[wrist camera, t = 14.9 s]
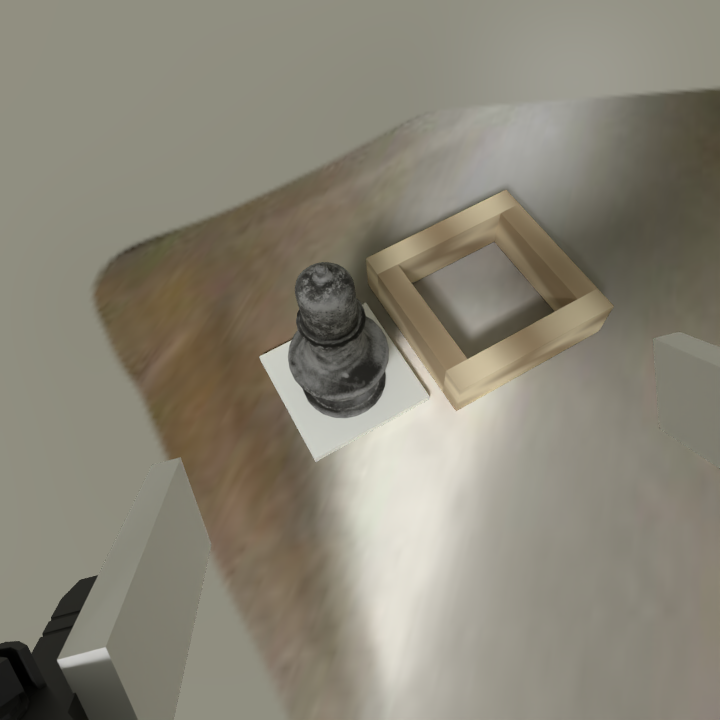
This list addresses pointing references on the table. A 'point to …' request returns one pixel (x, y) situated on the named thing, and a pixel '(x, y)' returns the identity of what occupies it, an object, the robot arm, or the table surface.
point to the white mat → (337, 432)
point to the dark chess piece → (336, 344)
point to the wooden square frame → (532, 258)
